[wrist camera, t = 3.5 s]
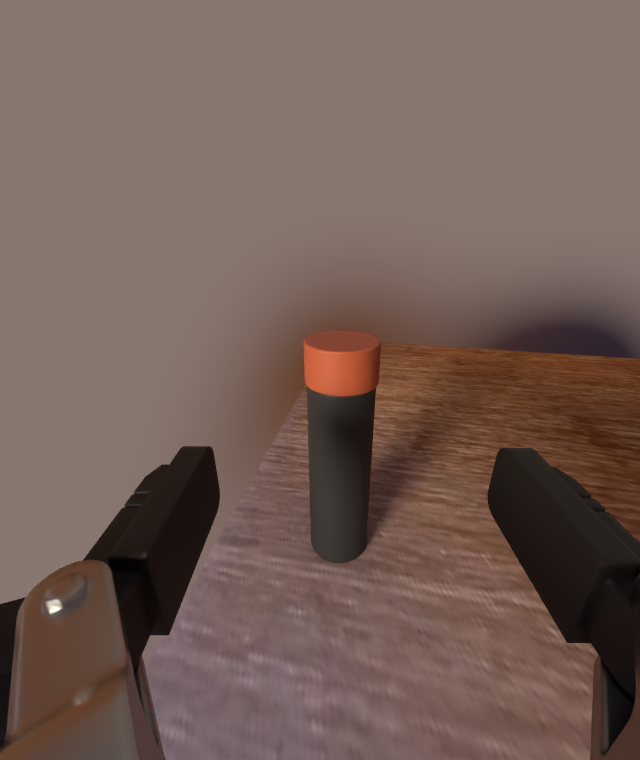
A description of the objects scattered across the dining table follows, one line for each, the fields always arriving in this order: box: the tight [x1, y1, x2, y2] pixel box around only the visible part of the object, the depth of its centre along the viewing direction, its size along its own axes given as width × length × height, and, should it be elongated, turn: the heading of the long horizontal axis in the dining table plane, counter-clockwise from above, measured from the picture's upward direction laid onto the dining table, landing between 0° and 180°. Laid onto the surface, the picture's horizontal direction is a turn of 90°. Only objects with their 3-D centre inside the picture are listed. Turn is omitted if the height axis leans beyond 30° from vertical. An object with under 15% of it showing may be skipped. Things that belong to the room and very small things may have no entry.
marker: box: [304, 330, 381, 563], centre depth 17 cm, size 3×3×12 cm
